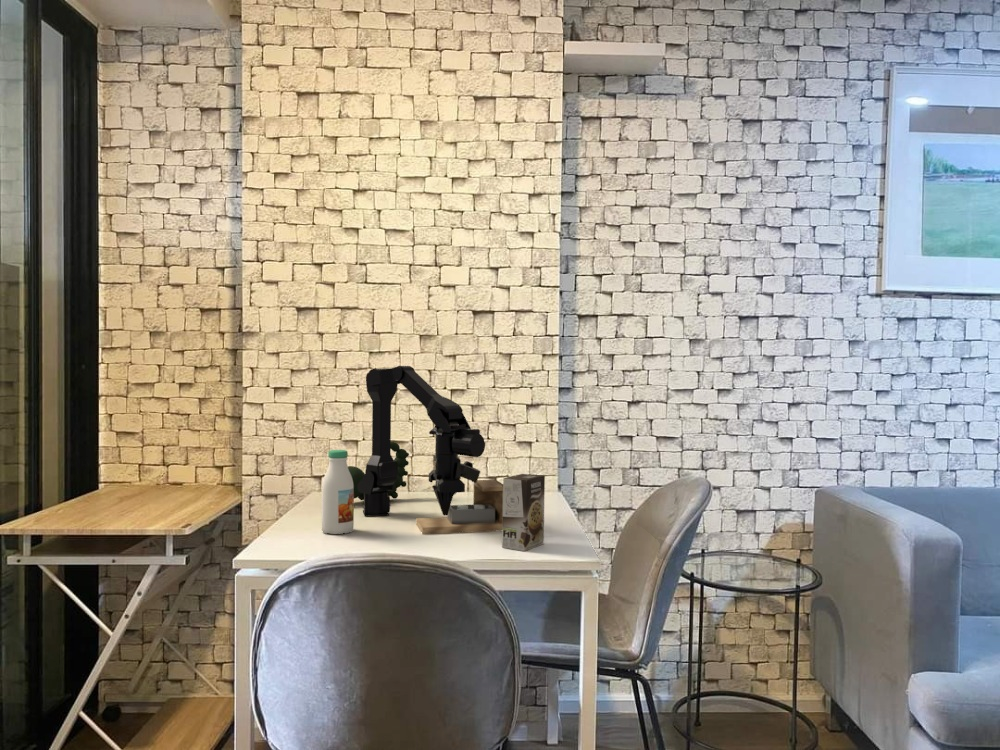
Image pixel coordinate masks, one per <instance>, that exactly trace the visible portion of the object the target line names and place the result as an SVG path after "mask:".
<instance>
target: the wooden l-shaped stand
mask: <svg viewBox="0 0 1000 750" xmlns="http://www.w3.org/2000/svg"><path fill="white" fill-rule="evenodd" d="M472 503H473V504H490V505H491V506H492V507H494V508H495V523H472V524H451V523H450V521H449V520H448V519H447V516H444V517H443V516H440V517H418V518H417V517H416V519H415V520H416V521H415V523H416V524H415V525H416V526H417V528H418V530H419V532H420V533H421V532H422V533H421V534H422V535H434V534H453V533H454V534H455V533H459V532H460V533H477V532H478V531H482V532H497V531H496V530H502V524H503V483H502V482H500V481H499V480H497V479H478V480H477V482H476V483H474V482H473V502H472ZM473 504H472V505H473Z"/></svg>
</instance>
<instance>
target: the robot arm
mask: <svg viewBox="0 0 1000 750" xmlns="http://www.w3.org/2000/svg"><path fill="white" fill-rule="evenodd" d="M365 384H366V385H365V386H366V393H367V394H368V396H369V398H370V399H371V403H372V408H371V409H372V411H371V412H372V415H371V416H372V417H371V418H372V419H371V421H372V422H371V423H372V425H371V426H372V428H371V429H372V430H371V444H372V445H371V456H370V457H369V459H368V461H367V463H366V465H365V472H364V473H365V476H364V477H363V478H362V479H361V481H360V482H359V483H358V485H357V487H358V492H359V493H364V500H363V510H362V513H363V516H364V517H376V516H377V517H379V516H381V517H382V516H383V517H384V516H386V517H387V516H390V512H391V496H390V497H389V496H388V491H392V490H393V488H394V484H395V482H396V480H397V476H399V474H398V461H394V457H393V456H392V454H391V451H392V450H391V442H392V440H391V439H392V436H391V434H392V433H391V432H392V431H391V427H392V401H393V399H394V397H395V395H396V393H397V391H398V385H400V384H401V385H402V386H403V387H404V388H405V389H406V390H408V392H409V393H410V394H411V395H412V396H413V397H415V398H416V399H417V400H418V402H419V403H420V404H422V405H423V407H424V408H425V409H426V413H427V417H428V418H429V420H430V421H431V422H432V423H433V425H434V427H433V428H432V429H431V430H430V431H429V432H428V434H429V435H433V436H435V451H434V453H435V454H434V455H435V456H433V461H434V469H432V470H431V471H430V472H429V473H428V482H429V483H433V482H435V485H432V486H431V487H432V489H433V492H434V493H435V497H436V500H437V502H438V505H439V507H440V510H441V514H442V515H443V516H447V515H448V512H449V508H450V505H452V501H453V497H454V496H455V494H457V493H465V490H466V484H465V483H464V482H463V481H462V480H461V479H462V478H463V479H466V480H469V481H471V483H473V484H474V483H476V482H477V480H479V477H480V474H481V470H479V469H478V468H476V467H474V464H473V462H470V461H467V460H466V461H464V463H462V461H461V459H460V458H459V456H465V457H473V458H480V457H481V456H482V455H483V454H484V451H485V449H486V442H485V439H484V436H483V435H482V434H481V430H480V429H479V428H471V426H470V424H469V422H468V420H467V418H466V416H465V414H464V413H463V412H464V411H463V408H462V406H461V405H459V404H458V403H457V402H455V401H454V400H452V399H450V398H447V397H445V396H442V395H441V394H440V393H438V392H437V390H435V389H434V388H433V387H432V386H431V385H430V384H429V383H428V382H427V381H426V380H425V379H423V377H422V376H421V375H419V374H418V372H416V371H415V368H414V367H412V366H410V365H398V366H396V367H395V366H394V367H391V368H371V369H370V370H369V371H368V372H367V373H366V376H365Z"/></svg>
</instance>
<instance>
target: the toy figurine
mask: <svg viewBox="0 0 1000 750" xmlns="http://www.w3.org/2000/svg"><path fill="white" fill-rule="evenodd" d="M391 451H393V452H394V453H395V458H393V460H394V461H398V474H399V476H397V480H396V482H395V484H394V488H393V490H392V491H388V496H389V497H390V498H391V499H393V500H394V499H398V496H399V493H398V492H397V490H398V488H399V487H402V488H405V487H407V482H406V481H404V476H408V475H409V472H408V470H406V467H407V466H408V465H409V464H410V462H409V461H408V460H407V458H409V456H410V453H409V452H407V450H406V449H404V448H400V445H399V443H397V442H395V441H391ZM347 467H348V470H349V472H350V474H351V476H352V480H353V487H354V499H359V500H360V501H364V493H359V492H358V487H357V485H358V483H359V482H360V481H361V479H362V478H363V477H364V476H365V472H364V471H363V470H362V469H360V468H359V467H357V466H353V465H352V466H351V465H347Z"/></svg>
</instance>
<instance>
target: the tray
mask: <svg viewBox="0 0 1000 750" xmlns="http://www.w3.org/2000/svg"><path fill="white" fill-rule="evenodd" d="M446 517H447V519H448V520H449V521H450V523H451V524H472V523H495V508H494V507H492V506H491V505H490V504H451V505H450V508H449V512H448V515H446Z"/></svg>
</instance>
